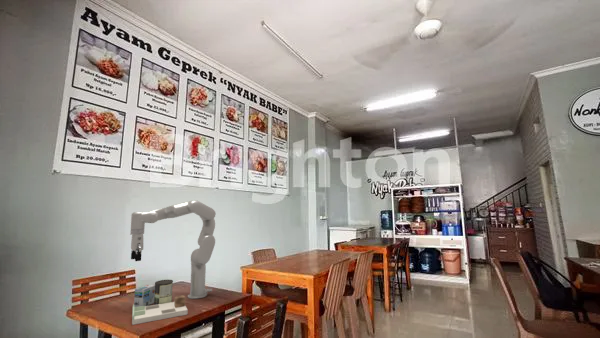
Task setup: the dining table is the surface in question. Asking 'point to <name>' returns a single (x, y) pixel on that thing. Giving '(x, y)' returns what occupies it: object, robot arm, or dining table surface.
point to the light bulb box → (144, 295)
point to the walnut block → (179, 301)
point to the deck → (156, 312)
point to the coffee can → (163, 292)
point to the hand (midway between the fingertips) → (135, 260)
